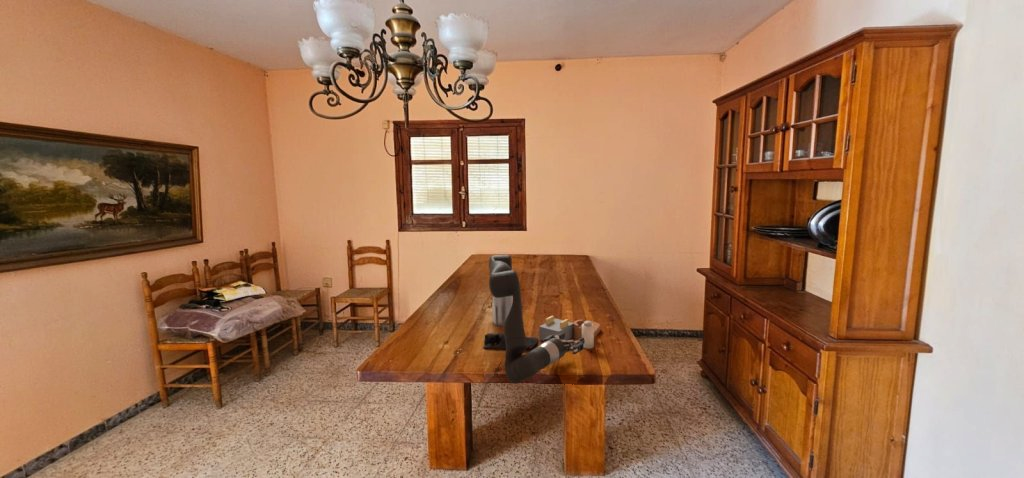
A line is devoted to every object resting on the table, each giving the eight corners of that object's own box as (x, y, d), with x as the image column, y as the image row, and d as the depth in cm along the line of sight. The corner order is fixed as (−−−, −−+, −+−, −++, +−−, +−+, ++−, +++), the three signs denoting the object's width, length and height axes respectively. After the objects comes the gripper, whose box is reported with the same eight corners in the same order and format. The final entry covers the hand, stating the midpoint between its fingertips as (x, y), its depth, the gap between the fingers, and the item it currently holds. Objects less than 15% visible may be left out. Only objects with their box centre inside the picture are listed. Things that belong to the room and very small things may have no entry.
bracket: (589, 343, 165) (589, 327, 164) (570, 340, 169) (570, 324, 168) (602, 328, 180) (602, 314, 179) (584, 326, 184) (584, 311, 183)
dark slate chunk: (532, 354, 157) (532, 343, 156) (480, 349, 163) (479, 338, 162) (540, 339, 171) (540, 329, 170) (492, 335, 177) (491, 325, 176)
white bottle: (585, 349, 159) (585, 325, 158) (579, 344, 164) (579, 321, 162) (595, 347, 160) (595, 323, 159) (590, 343, 165) (590, 319, 163)
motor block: (559, 345, 163) (559, 325, 162) (539, 339, 170) (539, 320, 168) (577, 334, 175) (577, 315, 173) (558, 329, 181) (558, 311, 180)
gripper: (566, 346, 135) (590, 332, 147) (533, 337, 144) (557, 324, 156) (567, 367, 136) (590, 351, 148) (533, 356, 145) (558, 342, 157)
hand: (573, 337), depth 152 cm, fingers open, 8 cm apart
